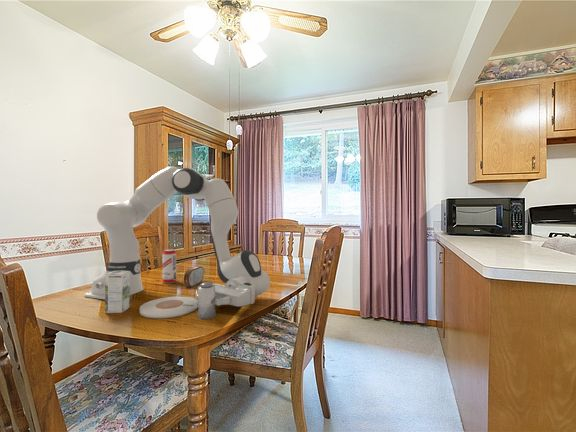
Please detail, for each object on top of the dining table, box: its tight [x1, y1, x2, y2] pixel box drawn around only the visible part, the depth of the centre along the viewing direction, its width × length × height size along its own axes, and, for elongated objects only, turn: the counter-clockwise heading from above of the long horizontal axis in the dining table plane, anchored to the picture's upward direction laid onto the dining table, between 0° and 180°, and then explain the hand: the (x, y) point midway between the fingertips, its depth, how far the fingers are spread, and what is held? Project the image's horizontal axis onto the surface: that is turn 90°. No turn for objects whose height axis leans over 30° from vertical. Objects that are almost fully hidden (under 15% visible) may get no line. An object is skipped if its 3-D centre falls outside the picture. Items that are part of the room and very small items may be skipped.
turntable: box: [139, 296, 198, 319], centre depth 105 cm, size 19×19×2 cm
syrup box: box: [104, 270, 131, 314], centre depth 104 cm, size 6×6×14 cm
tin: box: [183, 265, 205, 288], centre depth 143 cm, size 15×3×8 cm, turn 169°
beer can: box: [161, 248, 177, 285], centre depth 147 cm, size 6×6×16 cm
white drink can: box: [197, 281, 216, 320], centre depth 98 cm, size 6×6×12 cm
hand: (206, 300), depth 98 cm, fingers open, 8 cm apart
